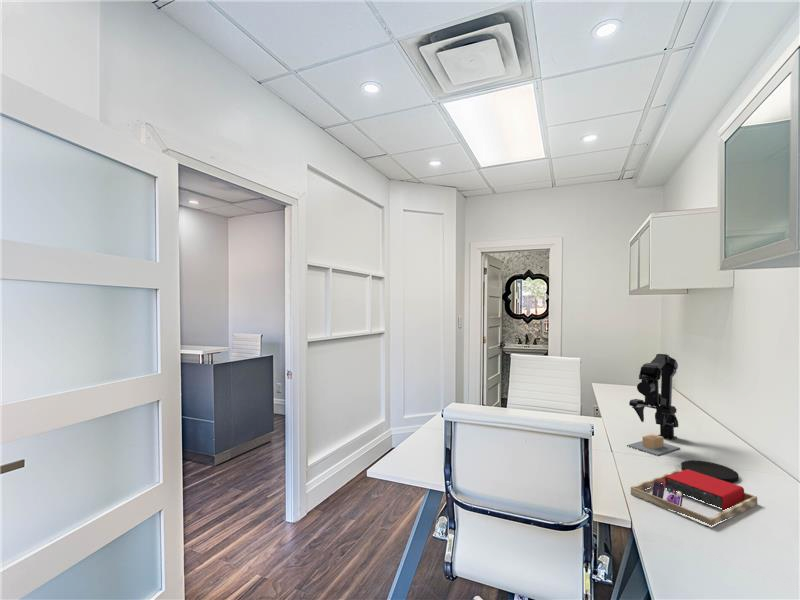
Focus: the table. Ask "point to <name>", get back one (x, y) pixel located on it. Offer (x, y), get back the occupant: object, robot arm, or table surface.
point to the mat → (654, 451)
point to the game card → (659, 492)
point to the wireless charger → (711, 470)
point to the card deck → (653, 441)
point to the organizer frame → (737, 509)
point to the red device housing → (706, 488)
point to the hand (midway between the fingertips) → (652, 424)
